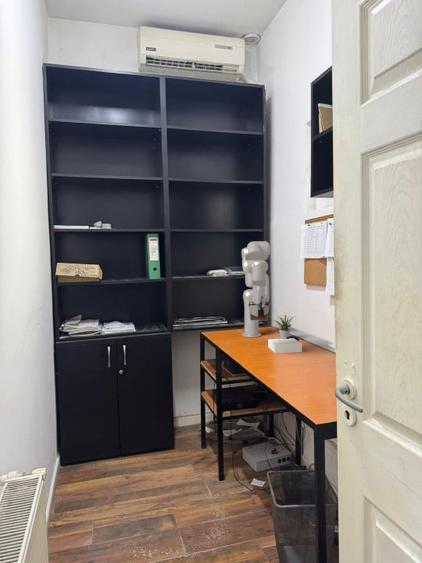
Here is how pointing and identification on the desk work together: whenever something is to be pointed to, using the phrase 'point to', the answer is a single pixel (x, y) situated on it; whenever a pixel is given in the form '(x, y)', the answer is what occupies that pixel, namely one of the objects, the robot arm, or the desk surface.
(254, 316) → the food container
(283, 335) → the house plant
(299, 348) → the base block
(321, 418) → the desk surface
